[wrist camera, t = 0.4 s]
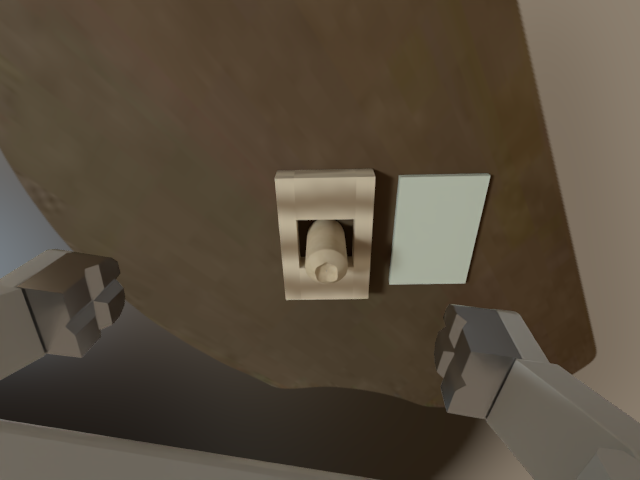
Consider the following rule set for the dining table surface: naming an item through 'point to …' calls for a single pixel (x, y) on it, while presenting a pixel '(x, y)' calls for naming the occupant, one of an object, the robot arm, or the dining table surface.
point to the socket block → (325, 204)
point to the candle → (326, 252)
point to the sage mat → (436, 227)
